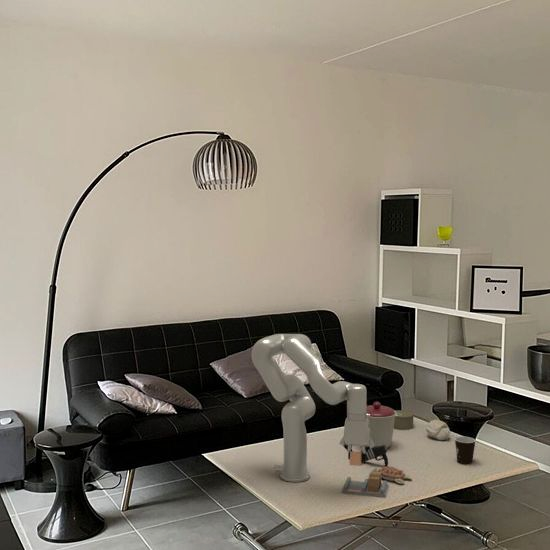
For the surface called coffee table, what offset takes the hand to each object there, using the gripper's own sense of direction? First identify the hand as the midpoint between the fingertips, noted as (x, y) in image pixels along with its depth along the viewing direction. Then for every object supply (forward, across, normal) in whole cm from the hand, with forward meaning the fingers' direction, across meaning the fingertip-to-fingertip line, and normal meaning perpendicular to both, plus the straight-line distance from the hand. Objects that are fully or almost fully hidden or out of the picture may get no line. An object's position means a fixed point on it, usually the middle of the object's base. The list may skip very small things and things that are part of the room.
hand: (357, 461), depth 280 cm
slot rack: (+11, -3, 0) cm, 12 cm away
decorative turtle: (+12, -11, -15) cm, 22 cm away
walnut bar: (+10, -7, -1) cm, 12 cm away
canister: (+11, 0, -53) cm, 54 cm away
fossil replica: (+12, -27, -73) cm, 79 cm away
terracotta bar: (+1, 0, +2) cm, 2 cm away
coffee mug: (+12, -40, -44) cm, 61 cm away
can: (+11, -8, -87) cm, 88 cm away
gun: (+11, -1, -29) cm, 31 cm away
